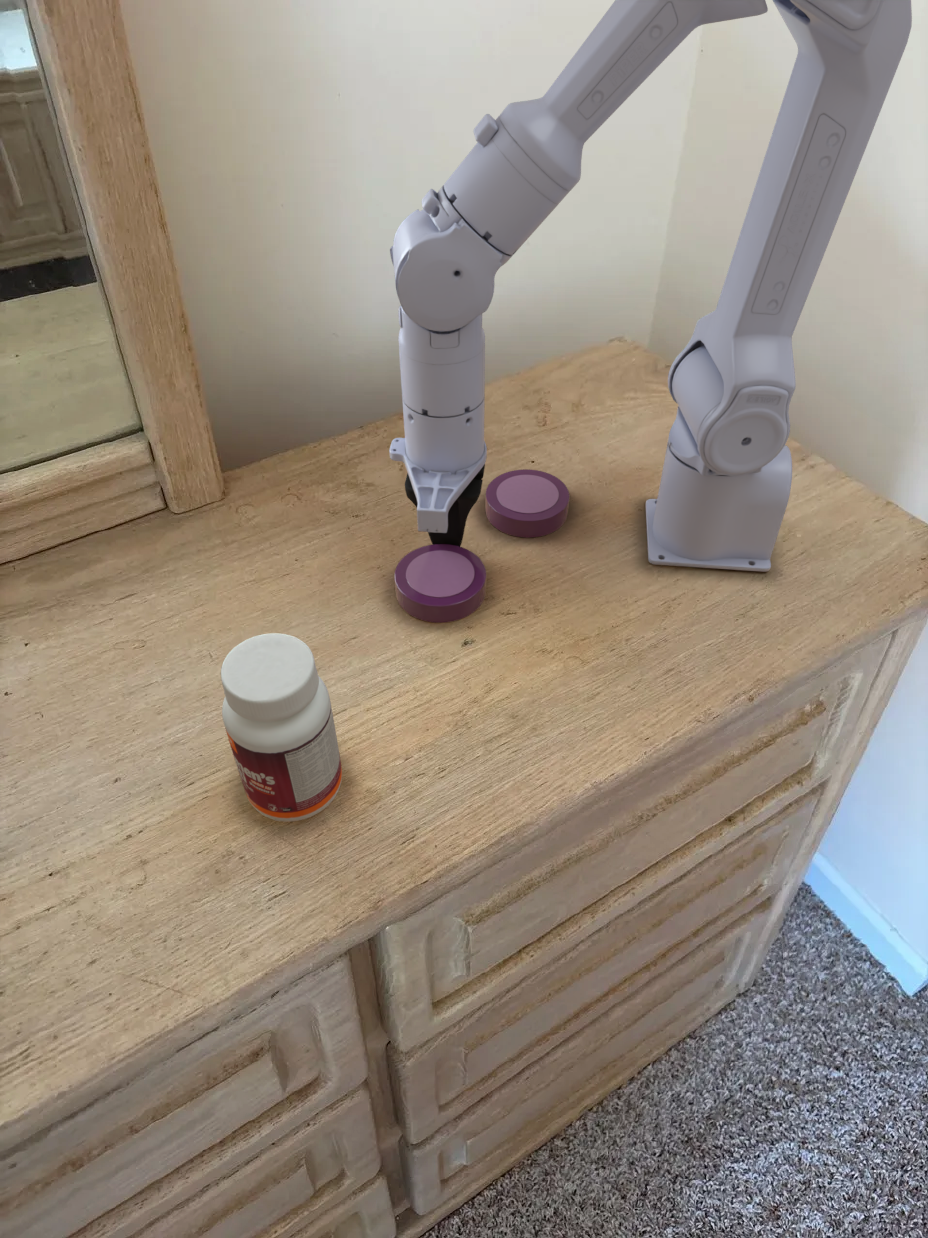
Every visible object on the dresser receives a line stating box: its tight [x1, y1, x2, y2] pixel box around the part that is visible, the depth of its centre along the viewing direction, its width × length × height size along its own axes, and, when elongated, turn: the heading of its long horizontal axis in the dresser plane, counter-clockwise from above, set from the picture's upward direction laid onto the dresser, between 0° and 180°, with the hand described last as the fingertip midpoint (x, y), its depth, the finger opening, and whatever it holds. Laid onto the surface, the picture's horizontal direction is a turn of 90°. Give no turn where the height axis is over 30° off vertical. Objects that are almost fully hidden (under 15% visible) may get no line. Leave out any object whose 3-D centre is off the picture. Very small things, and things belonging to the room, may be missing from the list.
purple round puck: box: [484, 468, 571, 538], centre depth 76 cm, size 7×7×2 cm
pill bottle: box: [220, 632, 343, 823], centre depth 53 cm, size 6×6×11 cm
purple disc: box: [393, 544, 487, 624], centre depth 69 cm, size 7×7×2 cm
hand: (447, 544), depth 72 cm, fingers closed
